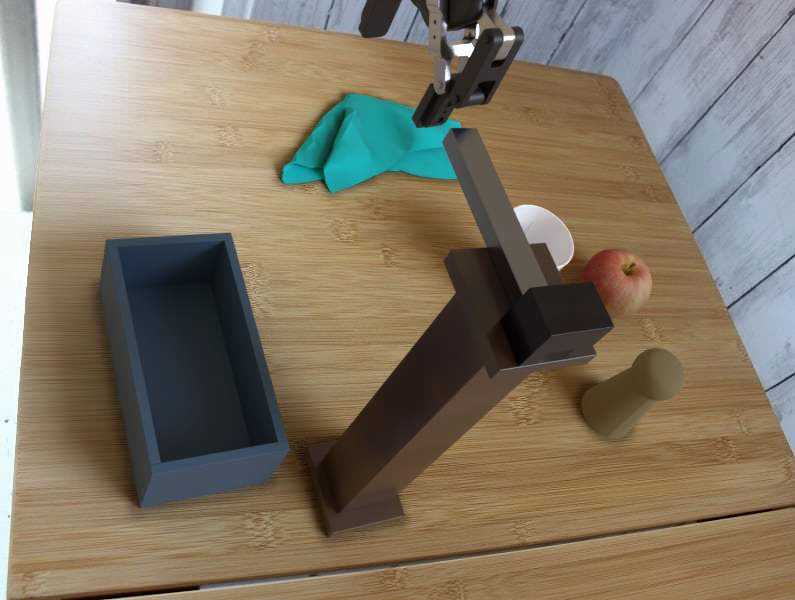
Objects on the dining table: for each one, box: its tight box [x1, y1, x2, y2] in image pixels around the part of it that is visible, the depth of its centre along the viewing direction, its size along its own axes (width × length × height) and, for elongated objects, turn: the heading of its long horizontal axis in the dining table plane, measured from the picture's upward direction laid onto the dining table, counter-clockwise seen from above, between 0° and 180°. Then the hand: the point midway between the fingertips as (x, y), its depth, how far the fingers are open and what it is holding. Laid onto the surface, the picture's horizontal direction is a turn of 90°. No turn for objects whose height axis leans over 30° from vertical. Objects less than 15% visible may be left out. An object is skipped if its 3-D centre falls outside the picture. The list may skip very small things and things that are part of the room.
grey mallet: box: [442, 127, 615, 366], centre depth 49 cm, size 16×4×4 cm, turn 19°
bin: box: [98, 232, 291, 509], centre depth 70 cm, size 21×11×8 cm, turn 19°
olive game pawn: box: [580, 347, 686, 440], centre depth 84 cm, size 6×6×11 cm
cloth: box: [281, 93, 462, 194], centre depth 96 cm, size 26×14×2 cm, turn 112°
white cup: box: [484, 203, 575, 272], centre depth 88 cm, size 8×8×10 cm
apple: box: [579, 248, 653, 320], centre depth 94 cm, size 8×8×8 cm
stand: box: [303, 243, 598, 539], centre depth 61 cm, size 8×7×32 cm
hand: (397, 78), depth 59 cm, fingers open, 8 cm apart
